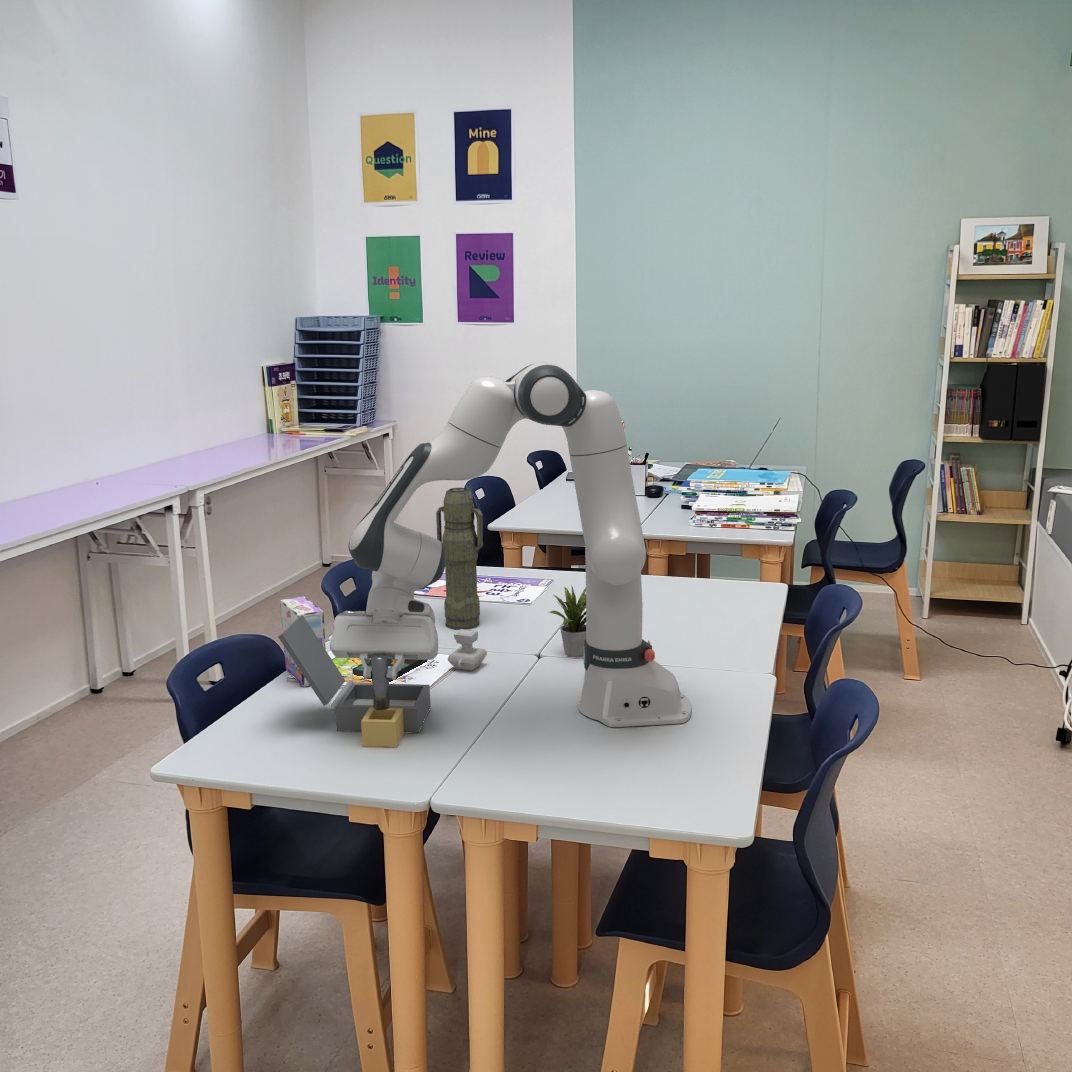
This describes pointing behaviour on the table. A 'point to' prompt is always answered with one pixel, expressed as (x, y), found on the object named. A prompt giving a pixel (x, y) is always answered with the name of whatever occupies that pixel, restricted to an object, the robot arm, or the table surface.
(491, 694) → the table surface
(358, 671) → the disk drive
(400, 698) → the case
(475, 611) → the thermos
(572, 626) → the house plant
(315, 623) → the candy box
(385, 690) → the rod
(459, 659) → the stamp
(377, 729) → the frame
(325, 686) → the case lid
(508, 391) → the robot arm
